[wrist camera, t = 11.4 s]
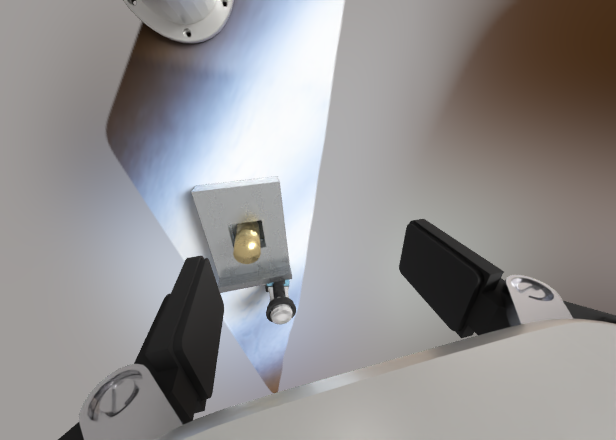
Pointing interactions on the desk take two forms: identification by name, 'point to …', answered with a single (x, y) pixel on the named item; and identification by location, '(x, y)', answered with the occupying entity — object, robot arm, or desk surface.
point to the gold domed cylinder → (247, 243)
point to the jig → (240, 209)
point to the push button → (279, 302)
